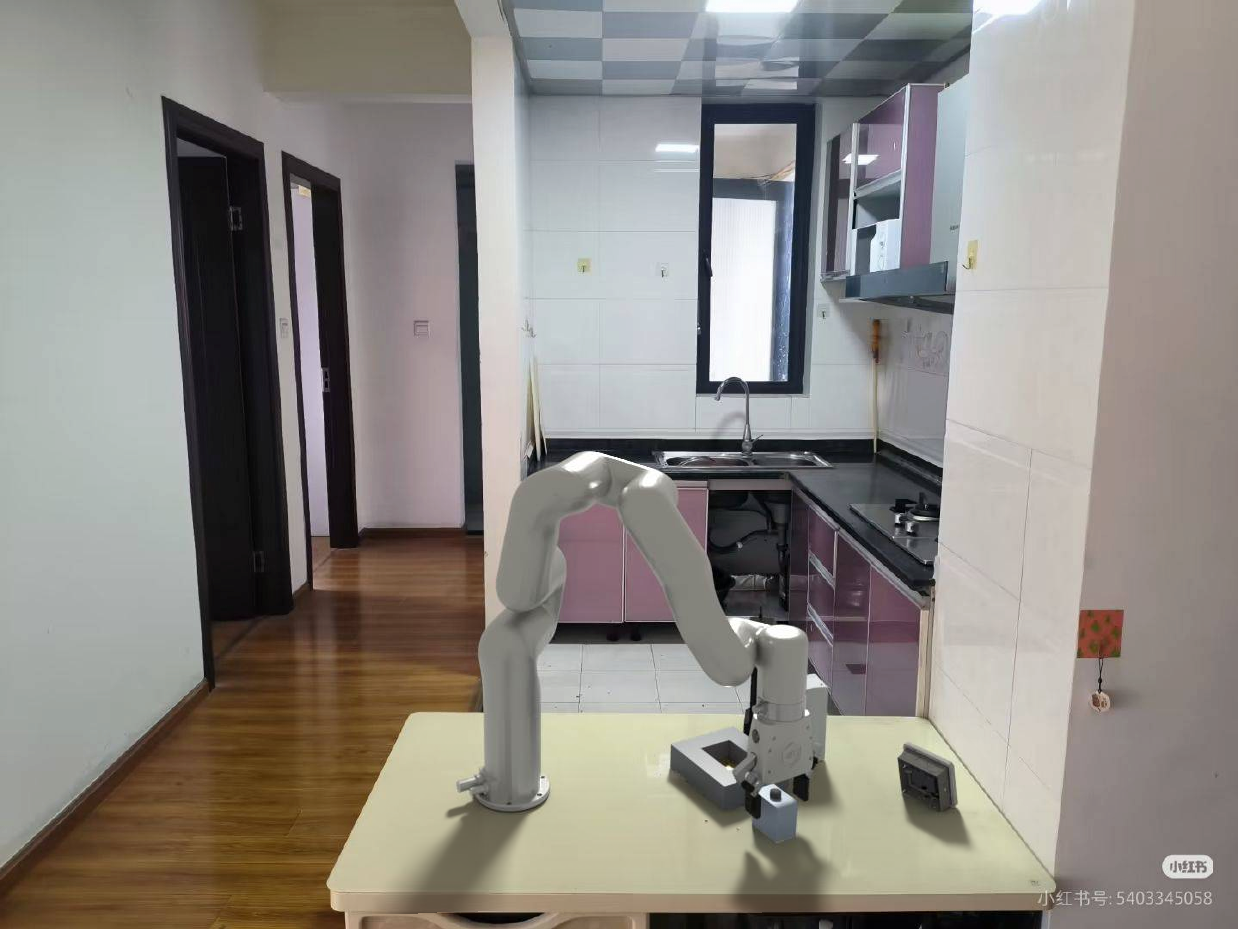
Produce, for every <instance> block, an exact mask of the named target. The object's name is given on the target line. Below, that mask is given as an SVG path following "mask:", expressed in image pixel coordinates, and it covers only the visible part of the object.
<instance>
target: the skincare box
mask: <svg viewBox="0 0 1238 929" xmlns="http://www.w3.org/2000/svg"><path fill="white" fill-rule="evenodd" d="M828 697H829V686H828V685H827V684H825V683H824V681H823V680H821V678H820V677H819V676H818V675H817V674H816V673H810V674H807V688H806V710H807V711H808V712H809V715H810V720H811V725H812V735H813V741H814V742H817V743H819V744H820V745H822V746H823V749H822V752H821V754H820V756H819V757H818V760H819V761H823V760H825V759H826V757H825V756H826V739H827V738H826V737H827V720H828V719H827V717H828V700H829V698H828Z"/></svg>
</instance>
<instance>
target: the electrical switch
mask: <svg viewBox="0 0 1238 929" xmlns="http://www.w3.org/2000/svg"><path fill="white" fill-rule="evenodd" d="M902 750H903V751H902V752H901V753H900V755H899V756H897V758H896V759H897V764H898V765H897V766H898V775H899V782H900V789H901V794H903V795H904V796H905V795H906V796H907V797H908V798H911V799H913V800H915V801H917V802H919V803H921V804H923V805H925V806H926V807H929V808H931V809H933V810H934V811H937V812H938V813H940V814H941V813H943V812H944V811H945V810H946V809H948V808H949V807H950V808H952V809H954V808H956V807H957V806H958V804H959V803H958V802H959V800H958V791H957V781H956V778H957V777H956V771H955V764H954V763H953V761H951V760H949V759H946V758H945V757H942V756H940V755H937V754H935V753H933V752H932V751H929V750H927V749H925V748H923V747H921V746H918V745H916V744H914V743H912V742H911V741H906V742H905V743H903V746H902ZM925 796H928V797H926V798H925Z"/></svg>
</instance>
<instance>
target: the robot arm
mask: <svg viewBox="0 0 1238 929" xmlns="http://www.w3.org/2000/svg"><path fill="white" fill-rule="evenodd" d="M679 498H680V495H679V490H678V487H677V485H676V483H675V482H674V480H672V478H671V477H670V476H668V475H667V474H665V473H664V472H661V471H660V470H657V469H654V468H651V467H649V466H648V467H647V466H644V465H641V464H639V463H634V462H631V461H628V460H625V459H621V458H618V457H614V456H611V455H608V454H604V453H602V452H596V451H590V450H589V451H586V450H585V451H581V452H576V453H575V454H573V455H571V456H570V457H568V458H566V459H565V460H562V461H561V462H559V463H557V464H554V465H552V466H549V467H546V468H543V469H541V470H538V471H536V472H534V473H532V474H530V475H528V476H527V477H526V478H525V479H523V480H522V481H521V483H520V484H519V485H518V486H517V488H516V489H515V491H514V493H513V495H512V499H511V502H510V506H509V512H508V517H507V523H506V527H505V528H506V529H505V533H504V537H503V542H502V547H501V551H500V558H499V564H498V568H497V572H496V576H495V577H496V578H495V591H496V596H497V598H498V600H499V602H500V603H501V605H502V607H504V609H503V610H502V611H501V612H500V613H499V614H498V615H497V616H496V617H494V619H493V620H491V622H490V623H488V625H487V626H486V628H485V629H484V630H483V632H482V634H481V637H480V640H479V642H478V649H477V658H478V662H479V668H480V675H481V679H482V680H481V681H482V703H483V704H482V705H483V706H482V707H483V747H484V748H483V752H484V754H483V755H484V756H483V757H484V758H483V762H484V765H481V766H479V767H478V773H476V774H474V775H473V776H472V777H467V778H464V779H460V780H457V781H456V784H455V785H456V789H457V792H458V793H459V794H460V793H464V792H467V791H468V792H469V795H470V797H476V799H477V800H478V802H479V803H480V804H482V805H483V806H484V807H487V808H489V809H490V810H495V811H500V812H508V813H509V812H521V811H525V810H528V809H532V808H534V807H536V806H538V805H541V804H542V803H543V802H544V801H545V800H546V799H547V798H548V796H549V795H550V792H551V782H550V780H549V778H548V776H547V775H545V773H543V772H542V704H541V702H542V698H541V682H540V677H539V673H538V672H539V671H538V659H539V657H540V655H541V654H542V652H543V651H544V649H545V648H546V647H547V646H548V645H549V644H550V642H551V640H552V638H553V637H554V635H555V633H556V629H557V625H558V622H559V617H560V612H561V607H562V601H563V596H564V591H565V587H566V581H567V575H568V572H567V571H568V570H567V568H568V567H567V560H566V557H565V556H564V555H565V554H563V552H562V550H561V549H560V548H559V547H558V542H559V537H560V528H561V526H560V524H561V521H563V520H564V519H565V518H567V517H571V516H575V515H578V514H581V513H584V512H586V511H588V510H590V508H592V507H593V506H594V505H597V504H598V505H601V506H605V507H607V508H611V509H614V510H616V512H617V516H618V519H619V521H620V522H621V525H622V526H623V527H624V529H625V531H626V532H627V534H628V536H629V537H630V539H631V540H632V542H633V543H634V545H635V546H636V547H637V549H638V551H639V552H640V553H641V555H642V557H643V558H644V560H645V561H646V563H647V565H648V566H649V568H650V570H651V572H652V573H653V575H654V576H655V578H656V579H657V581H658V582H659V584H660V587H661V589H662V590H663V593H664V597H665V600H666V603H667V605H668V607H669V610H670V612H671V614H672V617H673V619H674V623H675V625H676V627H677V629H678V631H679V633H680V635H681V637H682V639H683V642H684V643H685V644H686V646H687V649H689V652H690V653H691V654H692V655H693V657H694V659H695V661H696V662H697V663H698V665H699V667H700V668H701V669H702V671H703V672H704V673H705V675H706V676H707V677H708V678H709V679H710V680H711V681H712V682H714V683H716V684H717V685H719V686H721V687H726V688H735V687H739V686H741V685H743V684H744V683H746V682H747V681H748V680H749V679H750V678H751V674H752V672H753V669H754V666H756V667H757V669H758V674H757V703H756V705H754V706H753V707H752V711H753V713H754V716H753V719H752V724H751V728H750V734H749V741H748V751H747V758H745V759H744V760H743V761H742V762H741V763H740V764H739V765H738V766H737V767H735V768H734V769H733V771H732V774H733V776H734V778H735V780H736V783H737V784H738V785H739V786H741V787H742V788H743V789H744V790H745V804H744V810H745V812H747V813H748V814H749V815H750V816H751V817H752V816H753V817H754V818H755V819H759V818H760V817H761V795H760V794H758V793H759V792H760V790H761V789H762V787H763V785H764V784H766V785H771V784H775V783H778V782H781V781H784V780H787V779H792V790H791V791H792V792H791V793H792V795H794V796H795V797H796V798H799V799H800V800H801V801H802V802H809V799H810V797H809V796H810V795H809V794H810V778H812V777H813V775H814V770H815V768H816V767H817V765H818V763H819V761H820V760H818V757H819V756H820V754H821V752H822V749H823V746H822V745H820V744H819V743H817V742H814V741H813V735H812V725H811V720H810V715H809V712H808V711H807V710H806V688H807V675H808V666H809V665H808V664H809V663H808V662H809V661H808V660H809V637H808V635H807V633H806V632H805V631H804V630H802V629H800V627H796V626H793V625H788V624H777V625H767V624H763V623H759V622H755V621H751V620H749V619H746V618H742V617H736V616H735V617H734V616H733V617H728V618H727V615H726V614H725V612H724V610H723V607H722V606H721V604H720V601H719V598H718V596H717V592H716V588H715V584H714V578H713V577H714V576H713V575H714V574H713V571H712V565H711V562H710V559H709V556H708V554H707V553H706V551H705V549H704V548H703V547H702V545H701V543H700V542H699V540H698V539H697V537H696V535H695V534H694V533H693V531H692V529H691V528H690V526H689V525H688V523H687V522H686V520H685V518H684V517H683V515H682V514H681V512H680V510H679V509H678V507H677V506H678V503H679ZM747 772H749V773H748V775H747V777H745V775H746V773H747ZM755 777H757V778H758V780H757V781H756V783H755V785H754V786H752V785H751V784H752V782H753V780H754V779H755Z"/></svg>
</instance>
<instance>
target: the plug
mask: <svg viewBox="0 0 1238 929" xmlns="http://www.w3.org/2000/svg"><path fill="white" fill-rule="evenodd" d="M758 794H760V795H761V817H760V818H759V819H755V818H754V817H753V816H751V817H752V818H751V819H752V820H751V824H752V825H753V826H754V827H755V828H757V829H758V831H761V833H763V835H765V836H766V837H768V838H769V839H770V840H771V841H772V840H773V843H775V842H776V843H775V844H778V843H777V842H779V843H781V842H780V841H782V840H784V841H786V840H789V838H790V839H792V838H794V836H795V837H797V825H798V824H797V822H798V810H799V809H798V807H799V806H798V805H799V802H798V800H796V799H795V798H793V797H792V796H791V795H789V794H788V793H786V792H785V791H782V790H781V789H780V788H778V787H777V786H776V785H774V784H771V785H768V786H765V787H762V789H761V790H760V792H759V793H758ZM782 842H783V841H782Z"/></svg>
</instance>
